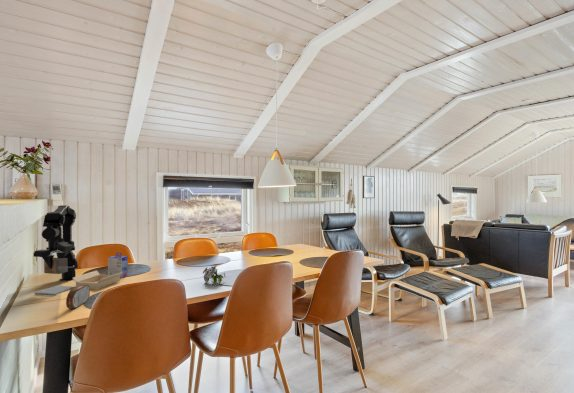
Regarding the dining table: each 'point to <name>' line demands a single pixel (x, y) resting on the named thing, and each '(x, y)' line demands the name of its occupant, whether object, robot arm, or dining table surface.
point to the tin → (78, 296)
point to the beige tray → (96, 279)
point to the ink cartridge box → (118, 265)
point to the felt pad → (54, 290)
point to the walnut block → (57, 266)
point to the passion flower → (212, 275)
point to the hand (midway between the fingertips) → (55, 267)
